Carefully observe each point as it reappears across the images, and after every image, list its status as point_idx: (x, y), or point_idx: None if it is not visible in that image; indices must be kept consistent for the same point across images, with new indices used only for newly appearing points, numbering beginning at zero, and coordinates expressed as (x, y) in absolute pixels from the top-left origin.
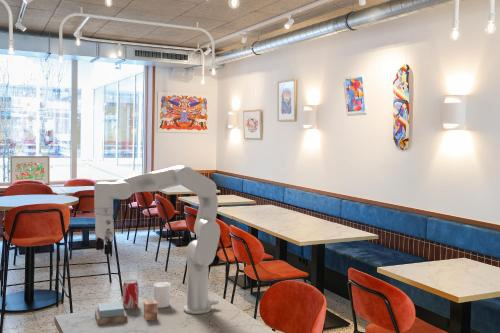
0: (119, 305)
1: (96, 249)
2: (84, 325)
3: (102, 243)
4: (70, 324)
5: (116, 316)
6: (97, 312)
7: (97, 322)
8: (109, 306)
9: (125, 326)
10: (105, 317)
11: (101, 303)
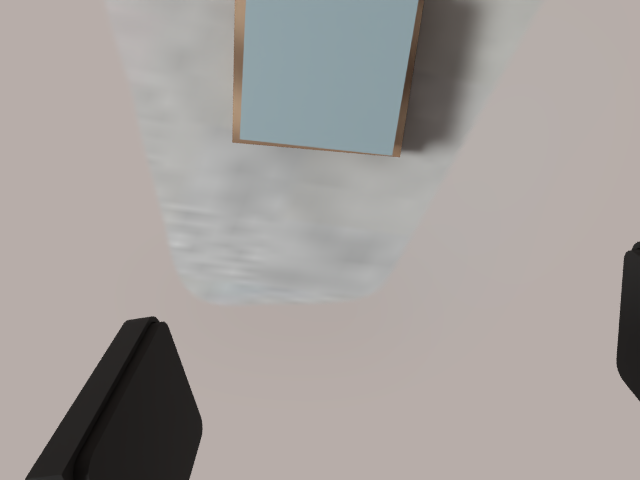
0: (335, 3)
1: (193, 436)
2: (378, 212)
3: (127, 427)
4: (334, 268)
5: None
6: None
7: None
8: (328, 77)
9: (504, 5)
10: None
11: (243, 116)
